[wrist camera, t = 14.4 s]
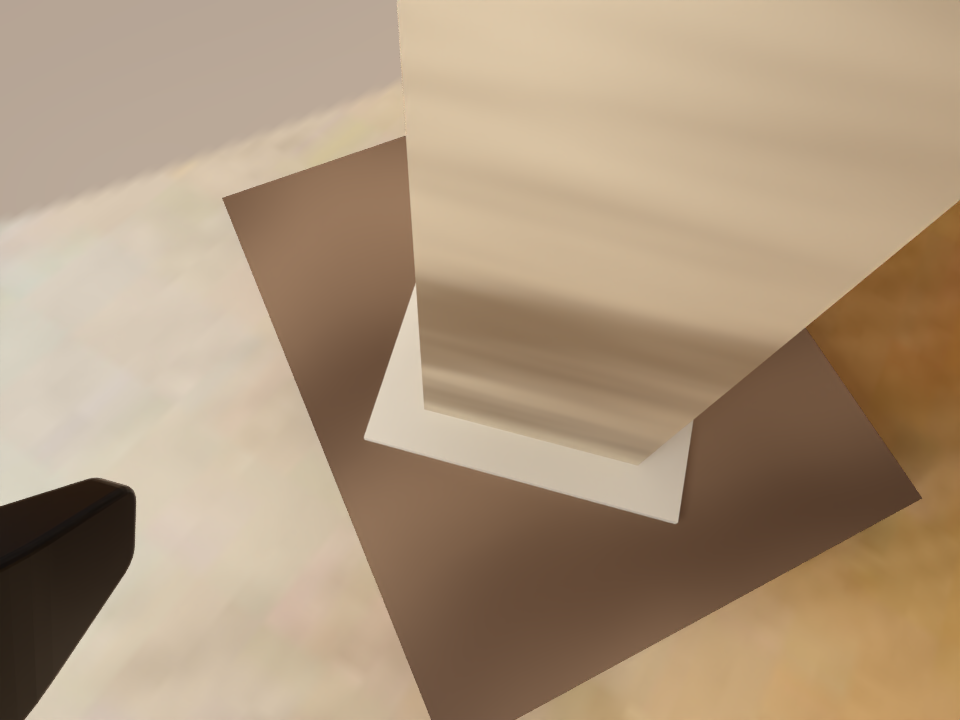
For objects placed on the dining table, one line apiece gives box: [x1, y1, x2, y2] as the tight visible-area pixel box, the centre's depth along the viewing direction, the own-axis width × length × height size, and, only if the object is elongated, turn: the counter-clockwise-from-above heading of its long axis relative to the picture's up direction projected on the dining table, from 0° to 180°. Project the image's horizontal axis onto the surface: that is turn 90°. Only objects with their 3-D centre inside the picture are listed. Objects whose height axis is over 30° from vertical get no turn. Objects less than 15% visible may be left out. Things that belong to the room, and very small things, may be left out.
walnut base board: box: [222, 136, 922, 720], centre depth 17 cm, size 14×12×2 cm
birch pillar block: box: [397, 0, 960, 466], centre depth 10 cm, size 5×5×14 cm
